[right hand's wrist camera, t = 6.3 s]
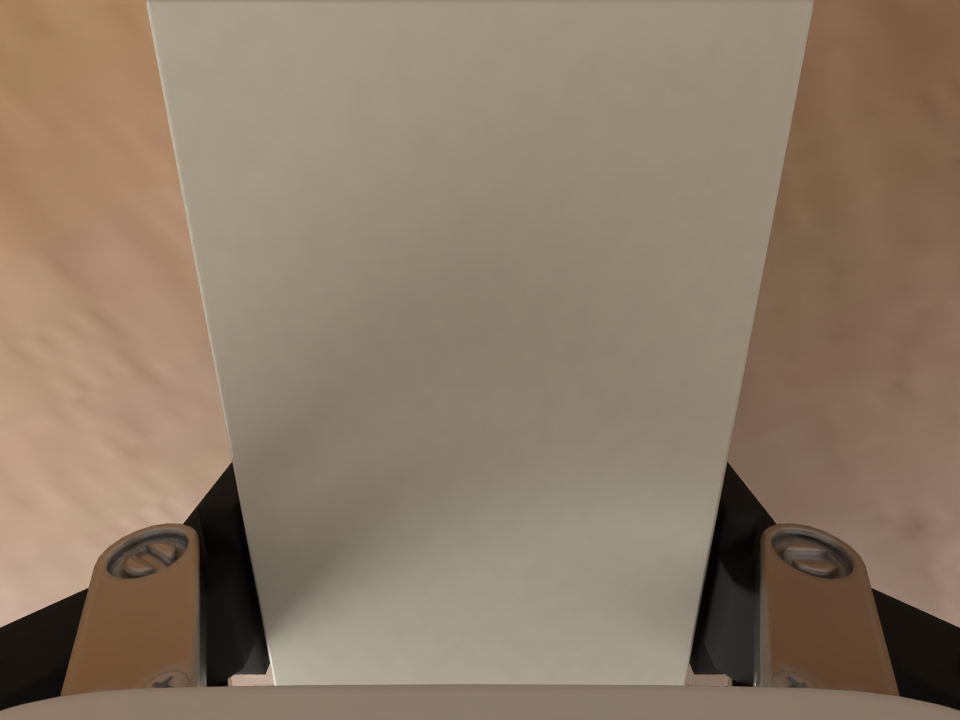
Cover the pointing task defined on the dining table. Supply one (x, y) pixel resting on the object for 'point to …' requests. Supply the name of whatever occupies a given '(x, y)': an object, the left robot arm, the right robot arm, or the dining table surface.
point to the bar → (479, 315)
